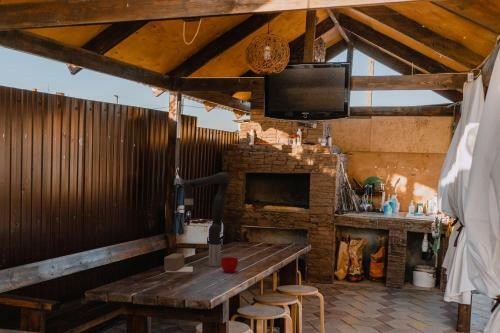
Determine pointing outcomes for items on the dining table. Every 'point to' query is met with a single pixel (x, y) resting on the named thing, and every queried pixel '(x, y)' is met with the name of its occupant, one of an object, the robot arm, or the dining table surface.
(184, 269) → the pale grey mat
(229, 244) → the dining table surface
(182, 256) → the wooden block
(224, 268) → the ceramic cup
